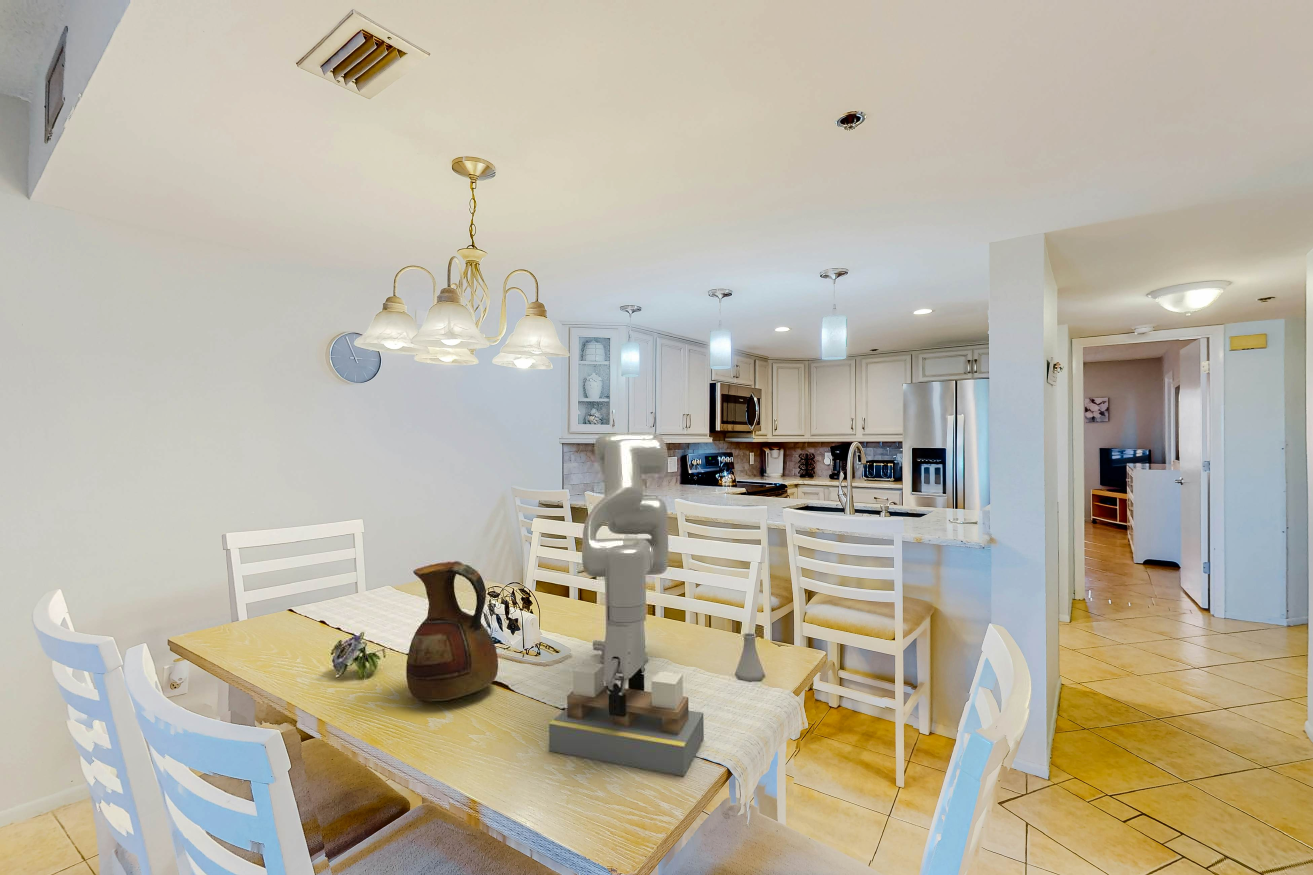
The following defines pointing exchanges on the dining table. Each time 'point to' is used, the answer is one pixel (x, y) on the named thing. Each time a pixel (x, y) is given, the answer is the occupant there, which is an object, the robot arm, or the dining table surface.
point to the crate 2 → (667, 690)
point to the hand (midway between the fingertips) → (627, 703)
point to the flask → (749, 661)
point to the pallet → (631, 709)
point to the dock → (628, 740)
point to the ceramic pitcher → (450, 639)
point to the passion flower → (354, 656)
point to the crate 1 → (588, 679)
